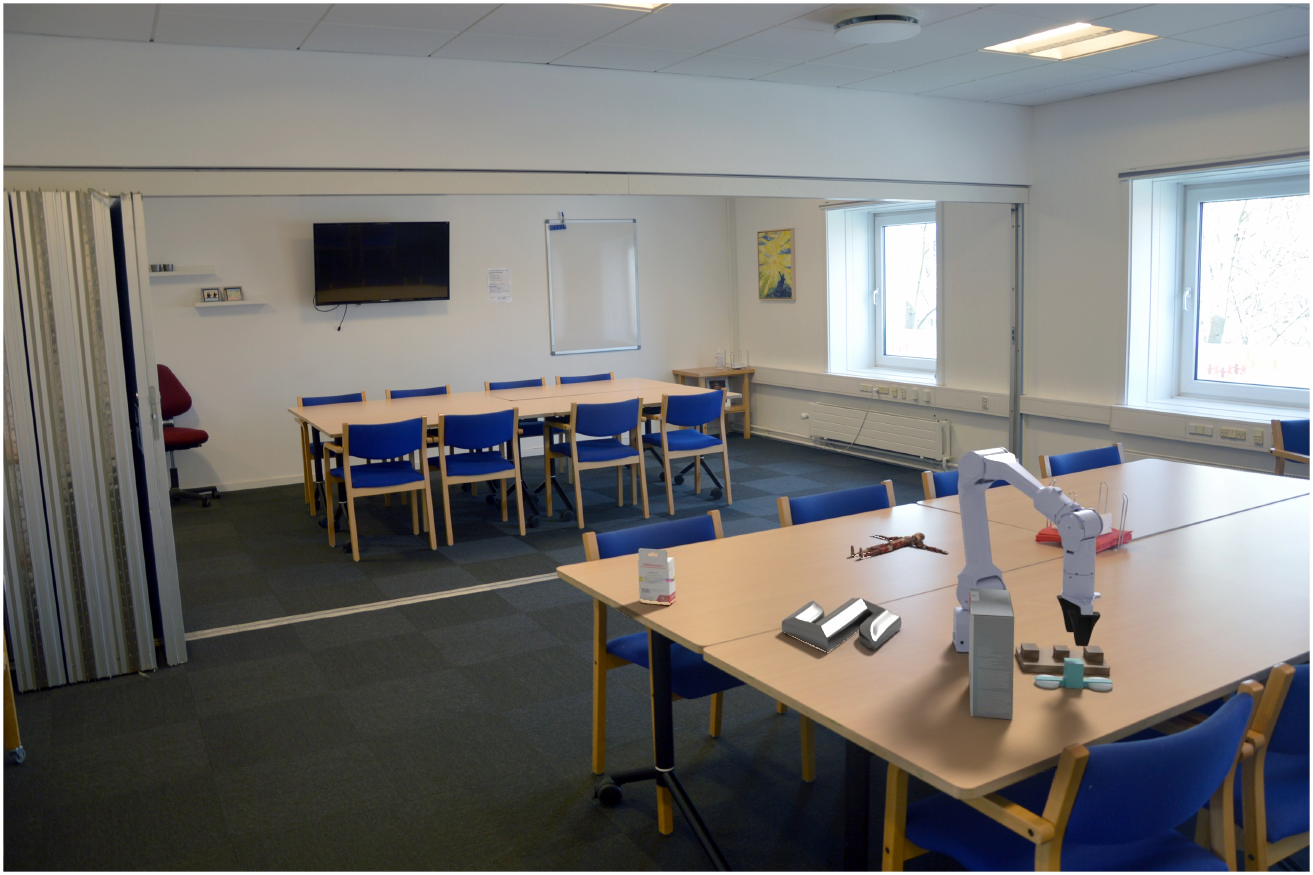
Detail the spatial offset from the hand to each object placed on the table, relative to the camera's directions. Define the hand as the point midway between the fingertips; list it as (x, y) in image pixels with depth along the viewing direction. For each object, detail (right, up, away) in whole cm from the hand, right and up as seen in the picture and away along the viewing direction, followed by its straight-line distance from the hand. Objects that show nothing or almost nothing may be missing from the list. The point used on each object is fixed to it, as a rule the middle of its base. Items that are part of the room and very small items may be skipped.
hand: (1076, 638), depth 188 cm
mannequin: (-11, +4, +105) cm, 106 cm away
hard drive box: (-19, -11, -5) cm, 22 cm away
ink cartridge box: (-82, -4, +61) cm, 102 cm away
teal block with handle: (0, -9, +1) cm, 10 cm away
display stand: (+2, -8, +12) cm, 14 cm away
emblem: (-39, -6, +35) cm, 53 cm away
